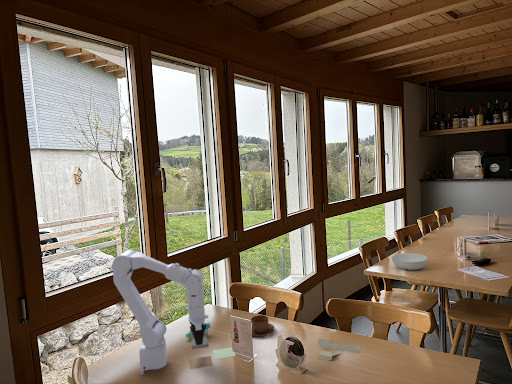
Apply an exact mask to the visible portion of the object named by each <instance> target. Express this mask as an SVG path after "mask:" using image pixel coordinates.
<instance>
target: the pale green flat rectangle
mask: <svg viewBox="0 0 512 384" xmlns="http://www.w3.org/2000/svg"><path fill="white" fill-rule="evenodd" d="M232 347H233V346H231V347H226V348H219V349H213V350H212V355H213V359H214V360H218V359H224V358H225V359H226V358H231V357H237V356H236V352H233V350H232Z"/></svg>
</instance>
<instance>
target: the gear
mask: <svg viewBox="0 0 512 384" xmlns="http://www.w3.org/2000/svg"><path fill="white" fill-rule="evenodd" d="M203 325H206V329H207V331H208V330H209V328H211V324H210V322H209V323H207V322H204V324H203ZM185 338H186V339H188V340H189V341H190V342H191V341H193V339H191V330H190V331H189V333H185Z"/></svg>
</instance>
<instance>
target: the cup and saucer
mask: <svg viewBox="0 0 512 384" xmlns="http://www.w3.org/2000/svg"><path fill="white" fill-rule="evenodd" d="M251 323H252V335H253V336H252V335H251V336H252V337H259V338H260V337H266V336H268V335H271V334H272V333H274V330H275V326H274V324H271V323H270V322H269V317H268V316H266V315H263V314H262V315H260V314H259V315H255V316H253V317H251V319H250V324H251Z"/></svg>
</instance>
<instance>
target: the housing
mask: <svg viewBox="0 0 512 384" xmlns="http://www.w3.org/2000/svg"><path fill="white" fill-rule="evenodd" d="M190 331H191V330H190ZM208 337H209V333H208V330H207V329H205V331H204V335H203V343H202V344H201V345H196V342H195V338H194V335H193V333H192V331H191V339H192V341H190V345H191V350H197V349H203V348H209V347H210V346H209V344H210V343H209V340H208Z"/></svg>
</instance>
